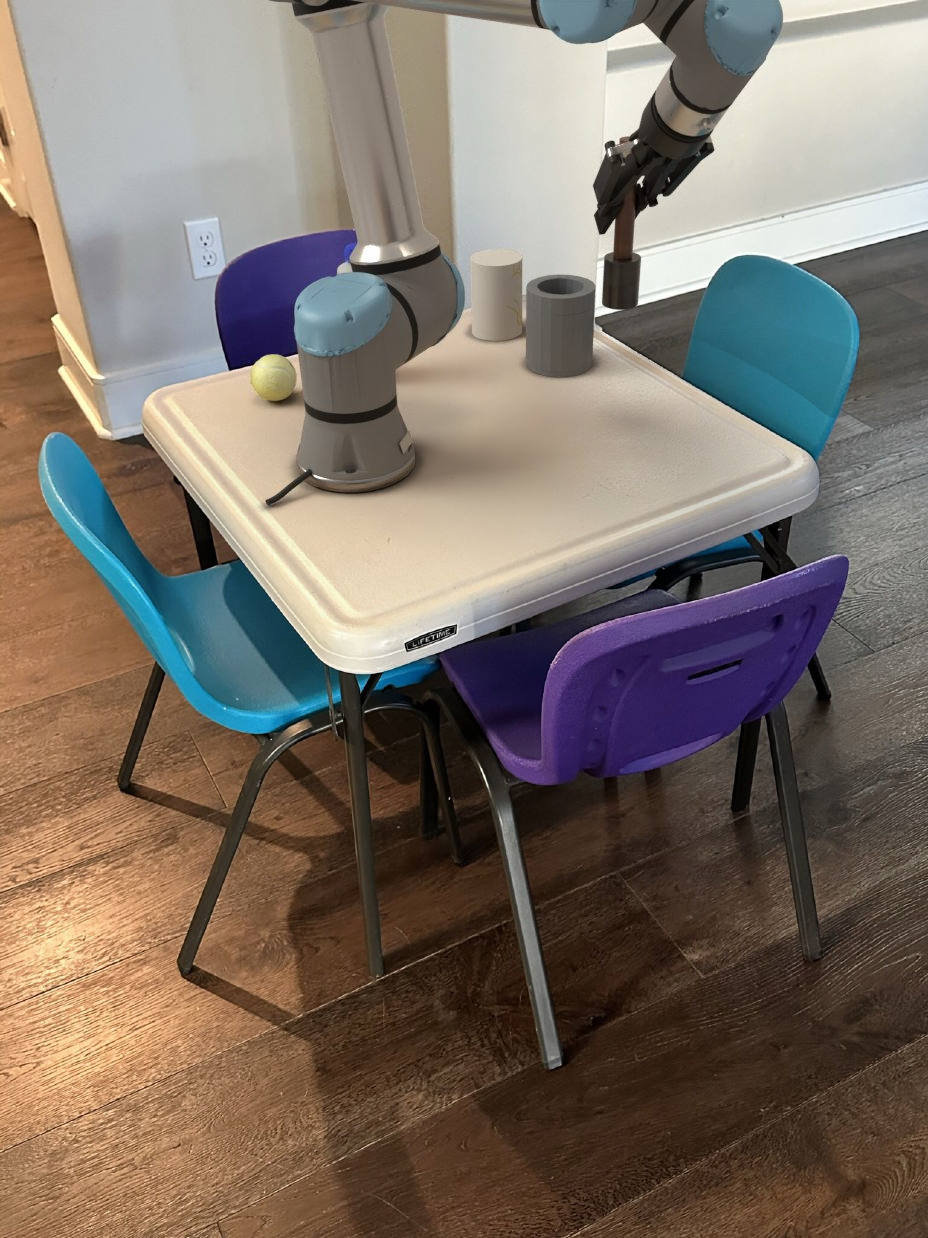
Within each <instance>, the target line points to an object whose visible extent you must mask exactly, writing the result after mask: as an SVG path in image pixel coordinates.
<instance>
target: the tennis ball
mask: <svg viewBox="0 0 928 1238" xmlns="http://www.w3.org/2000/svg"><path fill="white" fill-rule="evenodd" d="M249 382H250V385H251V386H252V388H253V390H254V391H255V392H256V393H257V394H258V395H259V396H260V398H262V399H264V400H267V401H270V402H271V401H272V402H278V401H282V400H284V399H286V398H288V397H289V396H290V395H291V394H293V392H294V390H295V388H296V385H297V371H296V368H295V367H294V364H293V363H292V362H291V361H290V360H289V358H287V357H286V356H283V355H280V354H277V353H276V354H273V353H272V354H266V355H264V356H262V357H260V359H258V360H257V361H255V363H254V364H253V365H252V367H251V369H250V381H249Z"/></svg>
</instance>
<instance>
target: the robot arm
mask: <svg viewBox="0 0 928 1238" xmlns="http://www.w3.org/2000/svg"><path fill="white" fill-rule="evenodd" d="M269 1H270V2H276V3H288V4H289V3H290V4H291V7H292V12H293V15H294V19H295V20H296V22H298V23H299V24H301V25H302V26H303V27H305V28H306V29H307V30H308V31H309V32H310V33H311V36H312V40H313V45H314V51H315V53H316V54H315V55H316V59H317V62H318V67H319V72H320V76H321V82H322V85H323V91H324V94H325V95H324V96H325V99H326V104H327V109H328V113H329V117H330V121H331V127H332V131H333V135H334V140H335V143H336V144H335V146H336V149H337V153H338V158H339V162H340V167H341V172H342V176H343V180H344V185H345V189H346V194H347V198H348V202H349V203H348V204H349V208H350V212H351V217H352V220H353V225H354V230H355V234H356V239H357V242H356V243H357V245H356V247H355V248H354V250H353V252H352V254H351V255H350V263H351V268H352V272H349V273H341V274H337V273H336V275H335V276H329V275H328V276H325V277H322V278H320V279H318V280H315V281H313V282H312V283H310V284H309V285H307V286H306V287H305V288H304V289H303V290H302V291H301V292H300V293H299V295H298V296H297V298H296V300H295V304H294V326H293V333H294V339H295V341H296V347H297V349H296V350H297V356H298V363H299V371H300V380H301V389H302V395H303V402H304V411H305V413H304V420H303V424H302V430H301V435H300V442H299V444H298V448H297V451H296V465H297V472H298V474H299V476H297V477H296V478H294V480H292V481H290V482H289V483H288V484H287V485H286V486H285V487H283V488H282V489H281V490H280V491H278V493H276V494H275V495H273V496H271V497H269V498H267V499H265V504H266V505H267V506H270V505H273V504H275V503H278V502H279V501H280V500H281V499H283V498H284V497H285V496H287V495H288V494H290V492H292V490H294V489H295V488H297V487H298V486H300V484H302V483H303V482H304V481H305V482H306V483H308V484H309V485H311V486H313V487H316V488H318V489H322V490H326V491H330V492H336V493H337V492H338V493H362V492H370V491H374V490H375V491H376V490H379V489H383V488H386V487H389V486H391V485H394V484H396V483H398V482H400V481H401V480H403V479H404V478H406V477H407V476H408V475H409V474H410V473H411V472H412V471H413V469H414V468H415V465H416V455H415V454H416V451H415V450H416V449H415V445H414V439H413V436H412V433H411V431H410V430H408V428H407V425H406V423H405V421H404V418H403V415H402V414H401V411H400V408H399V405H398V392H397V378H396V377H397V376H396V375H397V374H396V372H397V370H398V369H400V368H401V367H403V366H404V365H406V364H407V363H409V362H410V361H411V360H414V359H415V358H416V357H418V356H419V355H421V354H422V353H423V352H425V351H426V350H428V349H430V348H432V347H435V346H436V345H438V344H439V343H440V342H441V341H443V340H444V339H445V338H446V337H447V335H448V334H450V333H451V332H452V331H453V330H454V328H455V327H456V326H457V325H458V323H459V322H460V320H461V317H462V316H463V312H464V308H465V303H466V289H465V284H464V279H463V278H462V277H463V276H462V275H461V272H460V270H459V268H458V267H457V265H456V263H455V264H454V263H452V262H451V258H450V257H449V256H448V255H446V253H444V252H442V249H441V244H440V240H439V238H438V237H437V236H435V235H434V234H433V233H432V232H430V231H428V230H427V229H426V227H425V225H424V220H423V215H422V209H421V203H420V199H419V192H418V188H417V183H416V177H415V172H414V167H413V161H412V157H411V150H410V145H409V140H408V135H407V129H406V126H405V120H404V119H405V118H404V114H403V108H402V104H401V98H400V93H399V88H398V82H397V78H396V77H397V76H396V72H395V67H394V60H393V55H392V51H391V46H390V41H389V35H388V29H387V25H386V20H385V18H386V14H387V12H388V10H389V8H390V7H394V8H395V7H396V8H402V9H407V10H408V9H409V10H415V11H422V12H428V13H434V14H435V13H436V14H441V15H448V16H455V17H462V18H468V19H469V18H470V19H475V20H481V21H488V22H495V23H501V24H509V25H515V26H522V27H527V28H528V27H530V28H536V29H542V30H548V31H551V32H552V33H553V34H554V35H555V36H556V37H557V38H559V39H560V40H562V41H564V42H566V43H569V44H573V45H585V44H597V43H601V42H604V41H607V40H609V39H610V38H612V37H614V36H615V35H617V34H619V33H621V32H624V31H626V30H629V29H631V28H633V27H636V26H639V25H641V24H643V25H644V26H645V27H647V29H648V30H650V32H651V33H652V34H653V35H654V36H655V37H656V38H657V39H658V40H659V41H660V42H661V43H662V44H663V45H664V46H665V47H667V48H668V50H670V51H671V52H672V53H673V54H674V55H675V57H674V59H673V60H672V61H671V64H670V65H669V67H668V69H667V71H666V72H665V73H664V76H663V77H662V79H661V80H660V82H659V84H658V85H657V87H656V89H655V91H654V92H653V94H652V95H651V96H650V99H649V100H648V102H647V104H646V105H645V107H644V109H643V111H642V114H641V118H640V122H639V126H638V128H637V129H636V130H635V131H634V132H633V133H631V134H630V135H629V136H630V137H629V140H628V142H625V143H623V144H619V143H617V144H616V141H615V140H608V141H606V142H605V143H604V150H605V154H604V156H603V158H602V160H601V161H602V162H601V164H600V166H599V169H598V172H597V174H596V175H595V178H594V181H593V184H592V188H593V191H594V195H595V199H596V202H597V204H596V208H597V209H596V210H595V213H594V214H593V218H594V221H595V224H596V228H597V231H598V235H599V236H600V235H602V236H603V235H606V233H607V232H608V230H610V229H609V228H610V227H611V225H612V224H613V222H615V218H616V216H617V215H618V213H619V212H620V210H621V209H622V207H623V205H622V199H623V198H624V197H625V196H626V195H627V193H628V192H629V191H630V190H631V189H632V187H633V186H634V185H635V184H636V183H637V193H636V209H635V220H636V219H637V217H639V214H640V213H642V212H644V211H645V210H646V209H647V208H648V207H649V208H654V207H656V206H658V205H659V200H658V196H659V195H662V197H664V198H665V197H669V196H671V195H672V194H673V193H674V192H675V191H676V190H677V189H678V187H679V186H680V185H681V184H682V183H683V182H684V181H685V180H686V178H687V177H688V176H689V175H691V173H692V172H693V171H694V170H695V168H696V167H697V166H698V165H699V164H700V163H701V162H702V161H703V160H705V159H706V158H707V157H708V156H710V155H712V154H713V153H714V152H715V150H716V149H715V147H714V143H713V139H712V136H711V135H712V133H713V132H714V130H715V129H716V127H717V125H718V124H719V122H720V121H721V120H722V118H723V117H724V116H725V114H726V113H727V111H728V110H729V109H730V107H731V106H732V105H733V104H734V103H735V101H736V99H737V98H738V97H739V95H740V94H741V92H742V91H743V90H744V89H745V87H746V86H747V85H748V83H749V82H750V80H751V79H752V78H753V77H754V75H756V72H757V71H759V70H760V67H761V66H762V65H763V64H764V63H765V62H766V60H767V56H768V55H769V53H770V51H771V49H772V48H773V46H774V44H775V43H776V41H777V40H778V39H779V36H780V35H781V32H782V29H783V24H784V13H783V7H782V4H781V2H780V0H269ZM627 155H629V156H628V157H627ZM626 157H627V159H626ZM625 159H626V160H625ZM642 177H643V179H642V180H641V183H640V182H639V180H640V179H641V178H642ZM641 184H642V185H641Z"/></svg>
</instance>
